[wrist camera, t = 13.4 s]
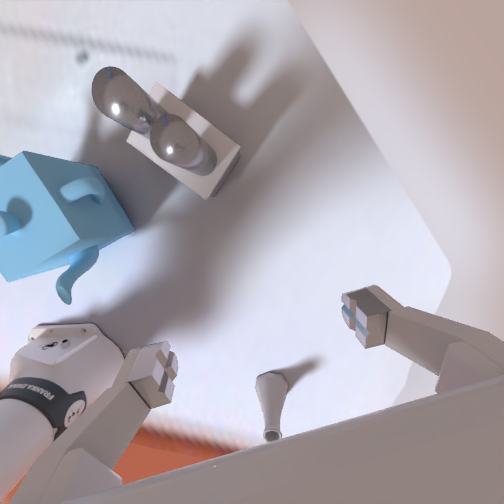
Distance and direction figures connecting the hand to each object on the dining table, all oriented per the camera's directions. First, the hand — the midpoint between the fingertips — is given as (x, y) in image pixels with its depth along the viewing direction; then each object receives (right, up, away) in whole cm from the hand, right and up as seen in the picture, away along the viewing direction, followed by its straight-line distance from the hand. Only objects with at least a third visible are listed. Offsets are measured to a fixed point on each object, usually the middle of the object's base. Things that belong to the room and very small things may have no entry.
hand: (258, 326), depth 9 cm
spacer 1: (-13, +21, +19) cm, 31 cm away
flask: (+4, -25, +34) cm, 43 cm away
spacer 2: (-7, +17, +19) cm, 27 cm away
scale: (-10, +20, +25) cm, 33 cm away
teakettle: (-31, +10, +29) cm, 44 cm away
